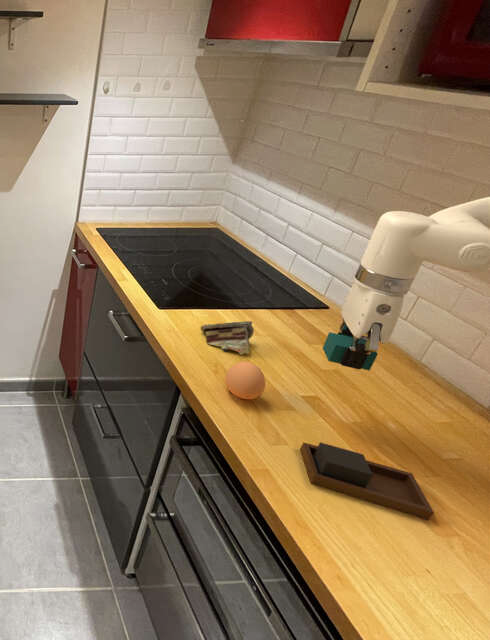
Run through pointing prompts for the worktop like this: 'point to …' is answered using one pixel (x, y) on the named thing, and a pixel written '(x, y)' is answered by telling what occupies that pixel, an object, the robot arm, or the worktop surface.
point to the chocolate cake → (230, 335)
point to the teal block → (344, 349)
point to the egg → (245, 380)
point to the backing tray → (375, 486)
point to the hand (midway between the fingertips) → (346, 357)
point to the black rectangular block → (342, 465)
